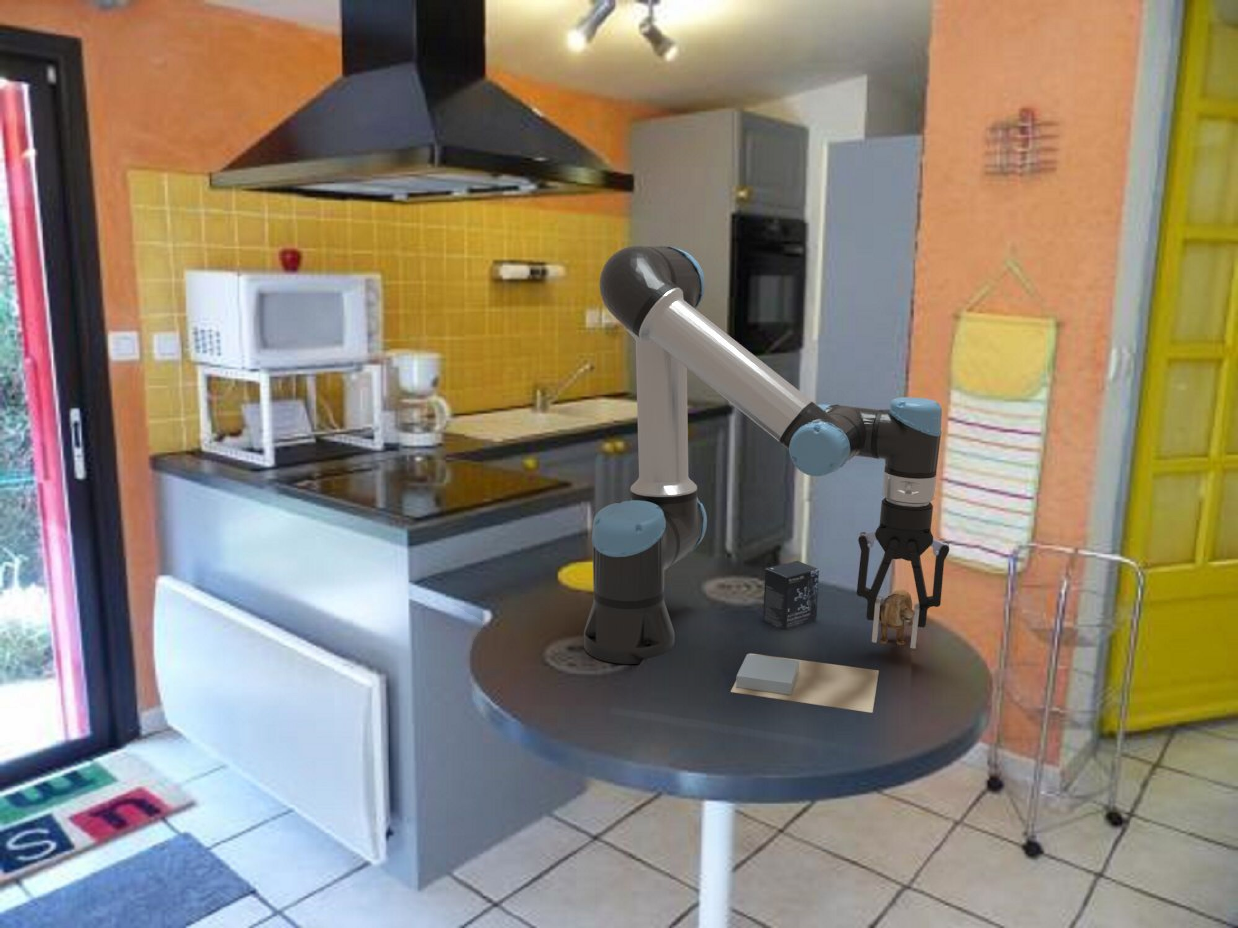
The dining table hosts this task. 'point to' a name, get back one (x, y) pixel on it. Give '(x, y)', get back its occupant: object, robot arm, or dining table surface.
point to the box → (790, 594)
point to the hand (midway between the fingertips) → (893, 641)
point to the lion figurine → (896, 615)
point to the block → (768, 674)
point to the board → (828, 686)
